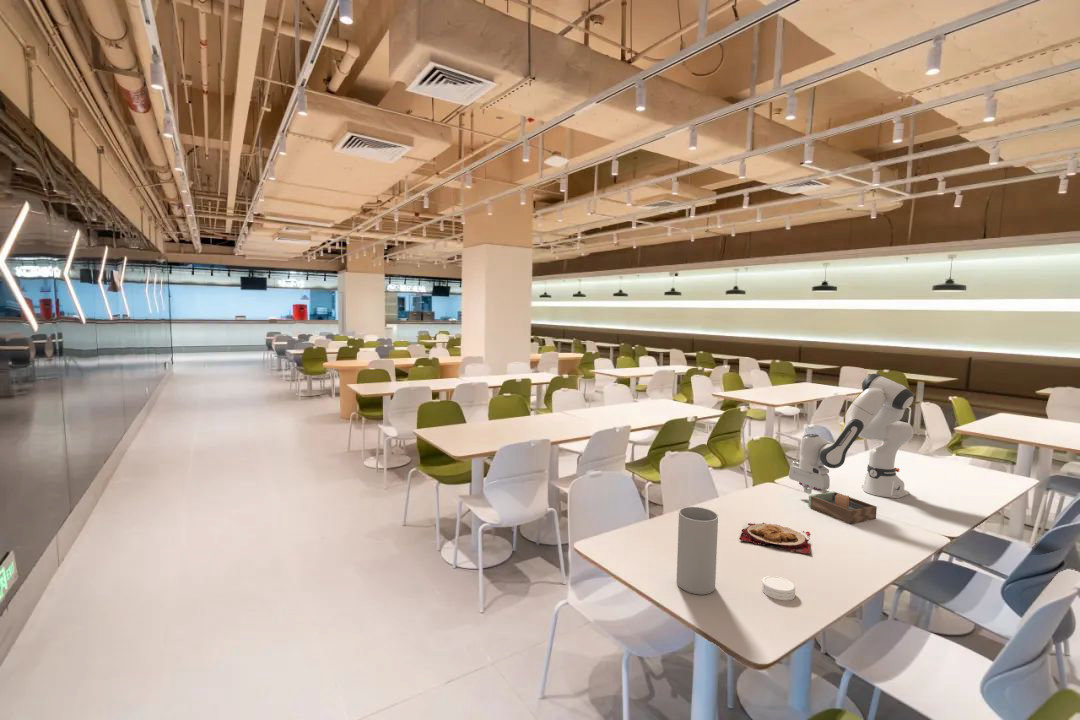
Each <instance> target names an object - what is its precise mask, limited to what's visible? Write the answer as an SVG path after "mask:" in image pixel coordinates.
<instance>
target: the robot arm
mask: <svg viewBox="0 0 1080 720" xmlns="http://www.w3.org/2000/svg"><path fill="white" fill-rule="evenodd" d="M861 389H862V392H861V393H860V394H859V395H858V396H857V397H856V398H855V399H854V401H852V403H851V404H850V405H849V407H848V409H847V411H846V413H845V415H844V416H845V417H844V418H845V422H844V427H843V429H842V431H841V432H840V434H839V435H838V437H836V439H835V441H834V442H832V441H829V440H828V439H825V438H823V437H822V436H820V435H819V434H816V433H809V434H808V433H807V434H804V435H803V436H802V437H801V439H800V445H799V447H800V448H799V453H800V457H799V462H796V461H792V462H790V466H789V472H788V478H789V480H792V481H795V482H797V483H799V482H801V483H802V485H801V486H802V488H803V492H804V493H806V494H808V495H812V492H813V491H812V490H813V488H814V487H816V488H819V490H821V491H822V490H823V491H826V490H828V489H829V488H830V486H831V485H830V483H831V481H830V480H831V479H830V476H829V473H830V469H837V468H840V467H842V466H843V465H844V464H845V461H846V455H847V452H848V451H849V449H850V448H851V447H852V445H853V444H854V443H855V441H856V440H857V438H861V439H865V440H869V441H881V442H882V443H881V444H879V445H877V446H874V447H873V448H872V449H870V450H869V453H868V454H869V455H868V456H869V457H868V464H867V467H866V468H867V470H866V471H867V472H866V473H865V476H864V480H863V484H862V485H861V488H862V489H863V491H864V492H865V493H868V494H869V495H872V496H873V495H874V496H878V497H884V498H892V499H901V498H903V497H905V496H908V495H909V494H911V493H910V491H909V490H907V489H905V482H904V481H903V480H902V479H901V478H900V477H899V476H898V475H897V473H899V472H900V468H898V467H895V461H896V455H897V453H898V450H899V449H900V448H901V447H902V446H903V445H904V444H905V443H907V442H909V441H911V440H912V439H913V437H914V434H915V433H914V428H913V426H912V425H911V424H910V423H909V422H904V421H901V419H903V416H904V413H905V412H906V411H905V410H906V409H907V408H908V407H909V406H911V405H912V403H913V402H914V398H915V396H914V393H913V392H912V391H911V390H910V389H908V388H907V387H906V386H905V385H903V384H901V383H898V382H896V381H894V380H892V379H889V378H886V377H885V376H883V375H881V374H878V373H871V374H868V375H867V376H866V377H865V378H864V379H863V381H862V383H861ZM820 460H821V462H822V463H823V464H824V466H823V465H821V464H820V463H819V462H820ZM829 468H830V469H829ZM806 485H809V487H807V486H806Z"/></svg>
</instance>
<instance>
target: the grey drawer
mask: <svg viewBox="0 0 1080 720" xmlns="http://www.w3.org/2000/svg"><path fill="white" fill-rule="evenodd" d="M836 492H837V491H835V490H833V491H828V492H822V493H816V494H808V505H807V506H808V507H809V508H810V509H811V498H812V496H814V497H817V498H820V499H822V500H825V501H828V502H830V503H833V504H835V493H836ZM864 507H865V506H863V505H860V504H857V503H854V502H852V501H849V508H848V509H849V510H854V509H859V508H864Z"/></svg>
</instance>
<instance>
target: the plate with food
mask: <svg viewBox="0 0 1080 720" xmlns="http://www.w3.org/2000/svg"><path fill="white" fill-rule="evenodd" d="M810 533H811V532H810V531H806V532H805V531H804V530H803V531H802V533H801V532H798V531H797V530H795V529H792V528H789V527H787V526H783V525H780V524H771V523H765V522H762V523H751V522H750V523H749V522H748V523H747V526H746V527H745V528H743V529H741V533H740V536H739V538H738V539H739V540H740V541H743V542H745V543H749V542H750V543H753V544H754V545H762V546H766V547H767V546H768V547H770V548H774V546H772V545H771V544H774V545H778V546H781V548H778V549H779V550H783V551H786V552H790V553H802V554H811V551H812V550H811V543H809V541H810V540H811V538H810V537H811V536H810V535H811V534H810ZM804 534H805V535H804ZM799 550H800V551H799Z"/></svg>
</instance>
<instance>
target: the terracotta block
mask: <svg viewBox="0 0 1080 720" xmlns="http://www.w3.org/2000/svg"><path fill="white" fill-rule="evenodd" d="M849 497H850V496H849V495H846V494H842V493H840V494H837V495H836V496H835V504H836V505H838V506H841V507H843V508H846V509H848V508H849Z"/></svg>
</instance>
